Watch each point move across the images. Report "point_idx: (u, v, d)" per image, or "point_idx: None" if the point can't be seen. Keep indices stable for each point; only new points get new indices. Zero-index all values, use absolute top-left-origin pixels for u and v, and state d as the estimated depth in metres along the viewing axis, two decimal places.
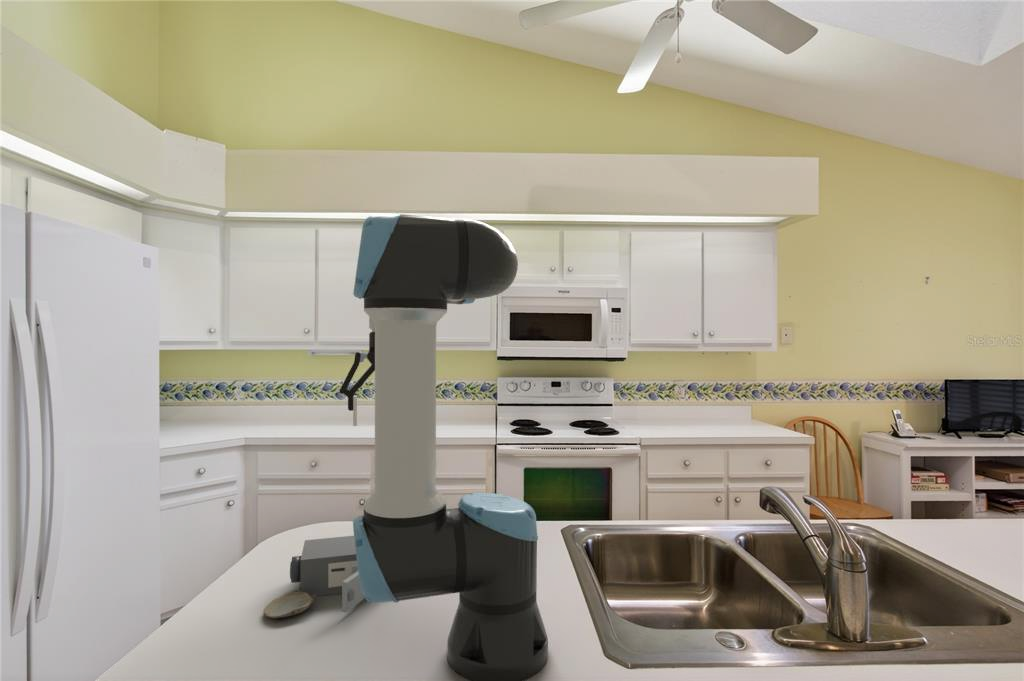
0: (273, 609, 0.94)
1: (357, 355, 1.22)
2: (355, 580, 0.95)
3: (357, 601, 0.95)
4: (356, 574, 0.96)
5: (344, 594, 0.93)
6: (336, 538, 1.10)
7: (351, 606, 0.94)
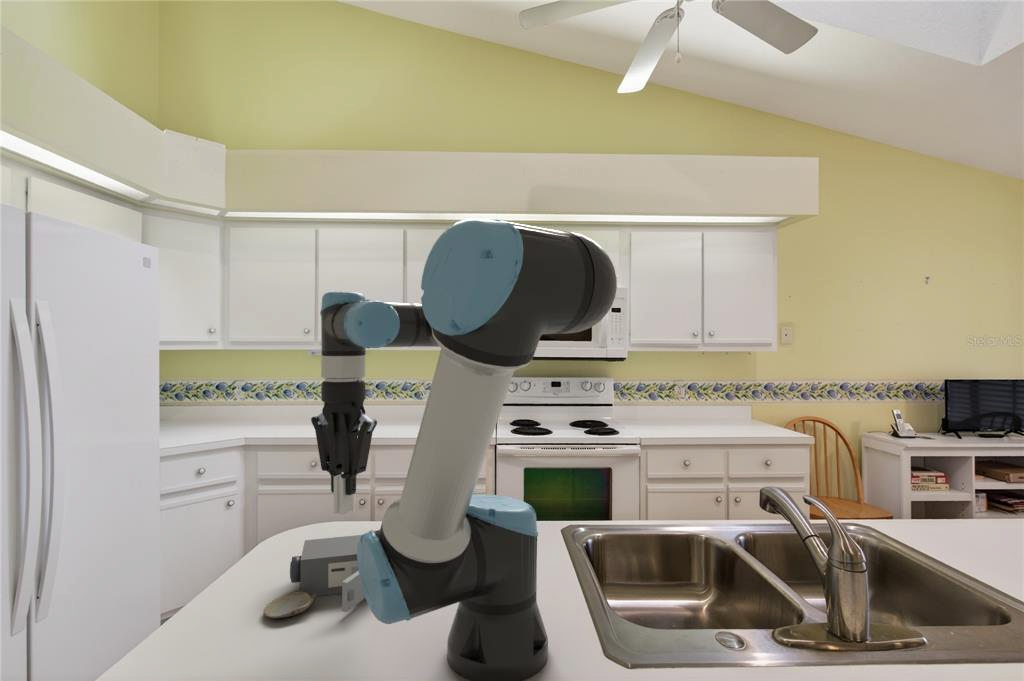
0: (274, 609, 0.94)
1: (313, 420, 0.98)
2: (355, 580, 0.95)
3: (357, 601, 0.95)
4: (356, 574, 0.96)
5: (344, 594, 0.93)
6: (336, 538, 1.10)
7: (351, 606, 0.94)
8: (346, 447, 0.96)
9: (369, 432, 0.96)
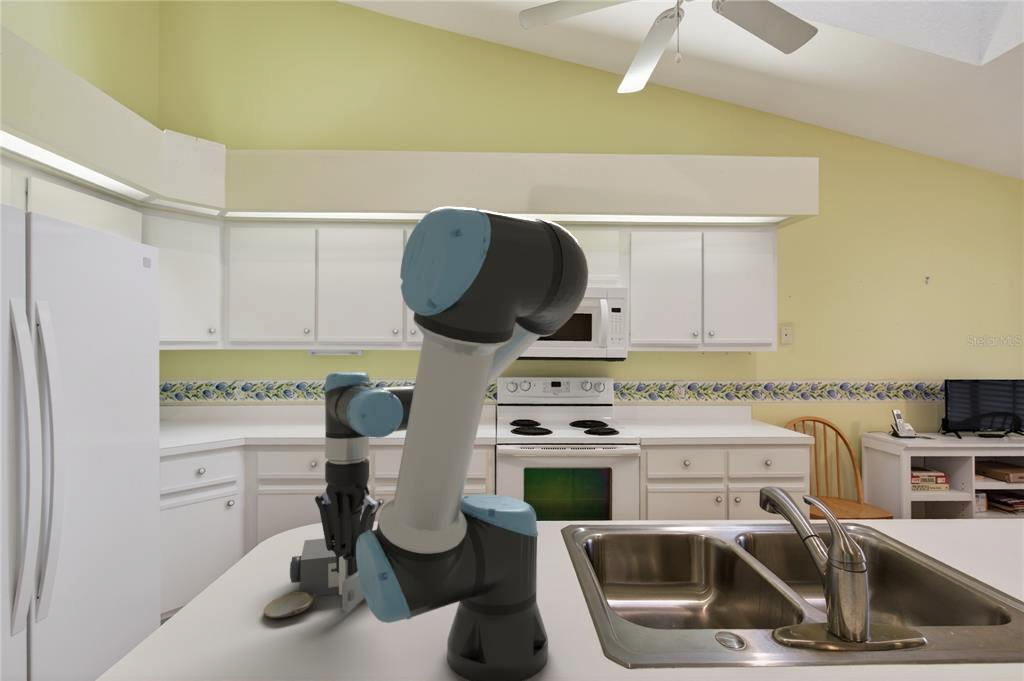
0: (274, 609, 0.94)
1: (317, 500, 0.98)
2: (355, 580, 0.95)
3: (357, 601, 0.95)
4: (356, 574, 0.96)
5: (344, 594, 0.93)
6: None
7: (351, 606, 0.94)
8: (349, 528, 0.95)
9: (372, 513, 0.95)
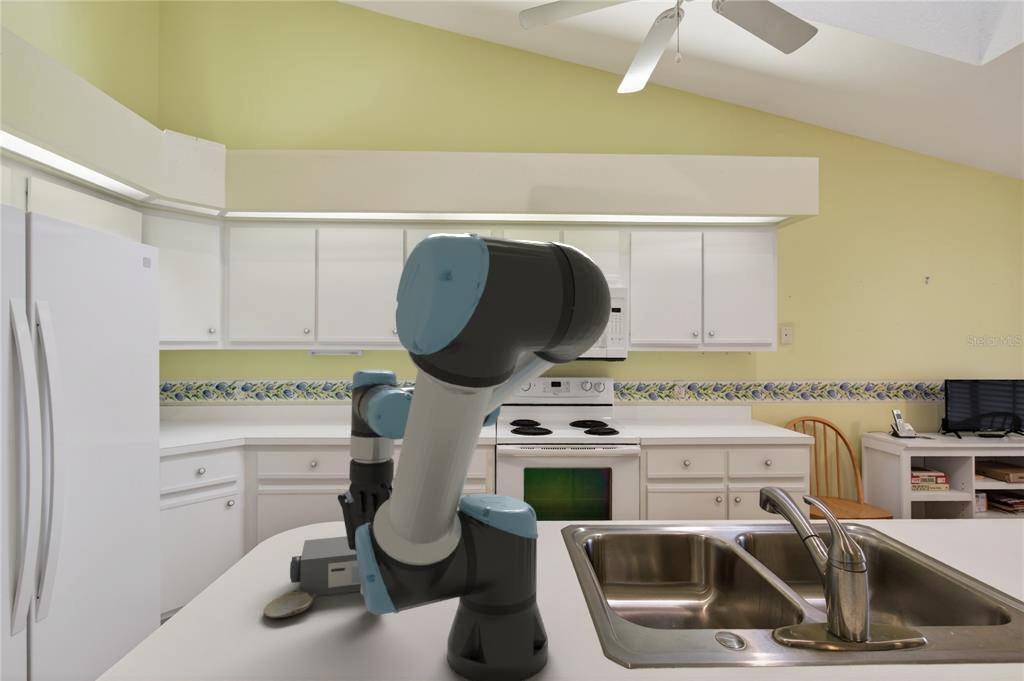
0: (274, 609, 0.94)
1: (340, 498, 0.97)
2: None
3: None
4: None
5: None
6: (336, 538, 1.10)
7: None
8: None
9: None
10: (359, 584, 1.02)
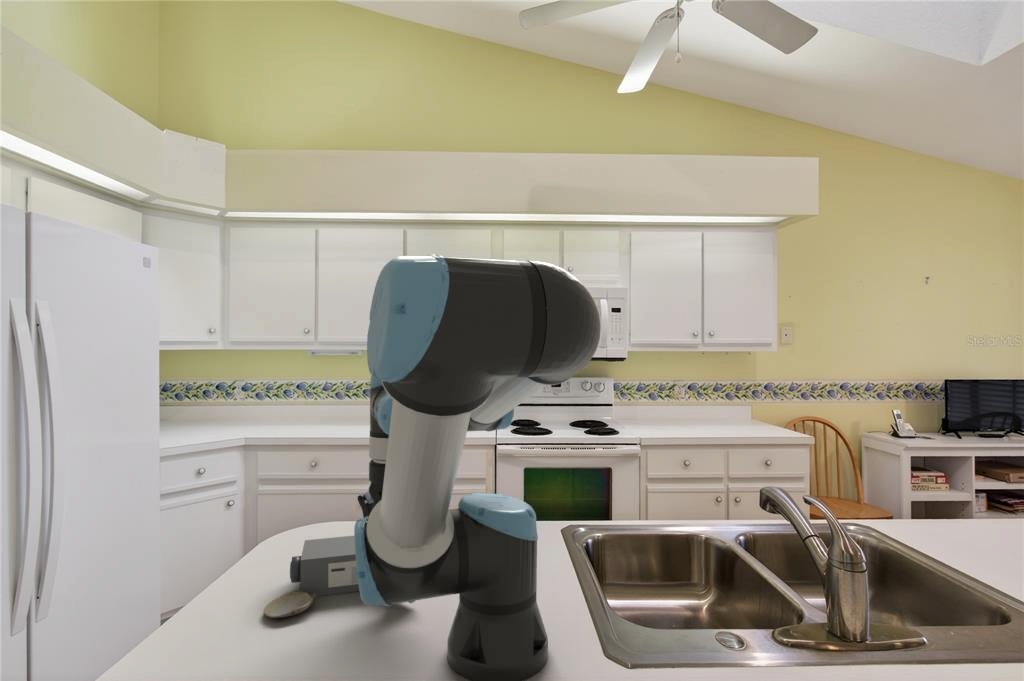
0: (274, 609, 0.94)
1: (359, 499, 0.98)
2: None
3: None
4: None
5: None
6: (336, 538, 1.10)
7: None
8: None
9: None
10: None
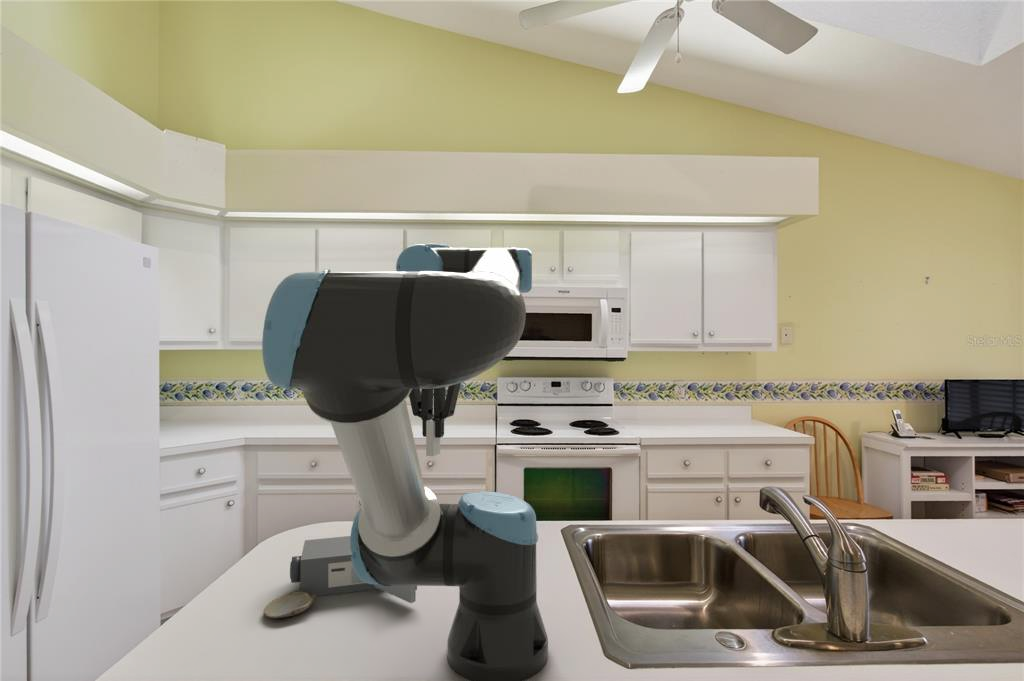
0: (274, 609, 0.94)
1: None
2: None
3: None
4: None
5: None
6: (336, 538, 1.10)
7: None
8: (437, 392, 1.01)
9: None
10: (359, 584, 1.02)
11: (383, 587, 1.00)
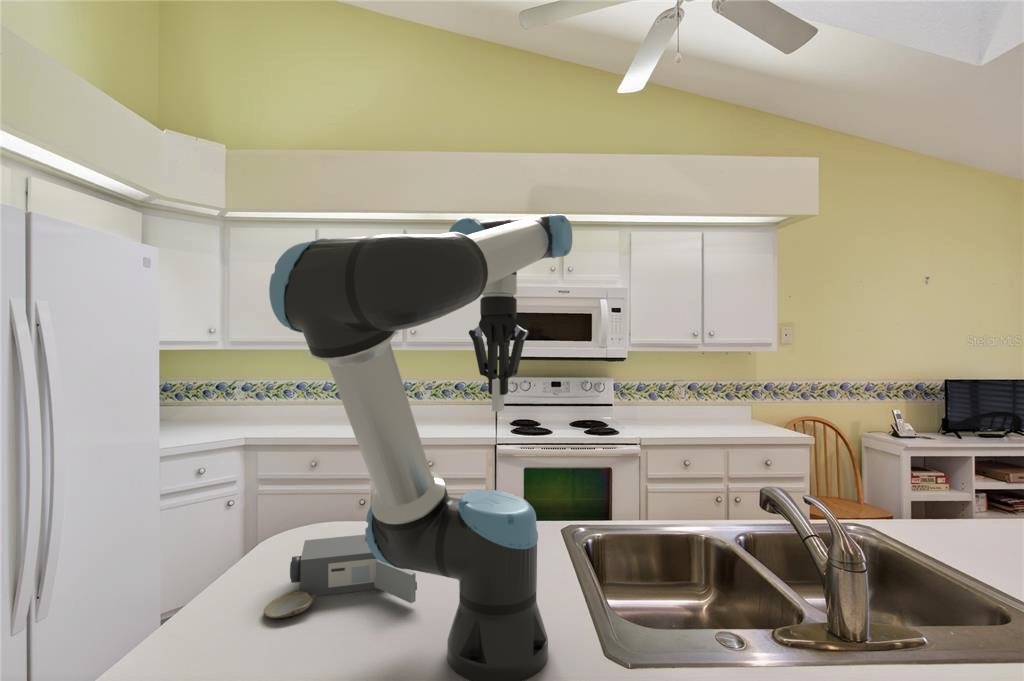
0: (274, 609, 0.94)
1: (471, 333, 1.14)
2: None
3: None
4: None
5: (413, 585, 0.96)
6: (336, 538, 1.10)
7: None
8: (502, 353, 1.11)
9: (522, 341, 1.11)
10: (359, 584, 1.02)
11: (383, 587, 1.00)
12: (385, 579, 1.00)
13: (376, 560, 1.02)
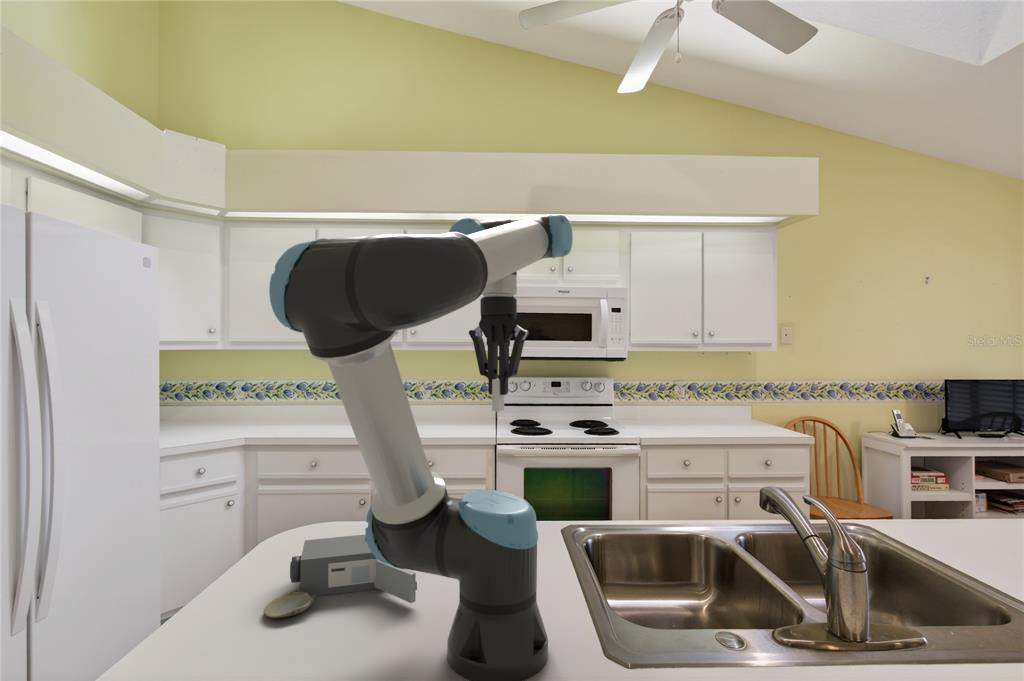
0: (274, 609, 0.94)
1: (471, 333, 1.14)
2: None
3: None
4: None
5: (413, 585, 0.96)
6: (336, 538, 1.10)
7: None
8: (502, 353, 1.11)
9: (522, 341, 1.11)
10: (359, 584, 1.02)
11: (383, 587, 1.00)
12: (385, 579, 1.00)
13: (376, 560, 1.02)
